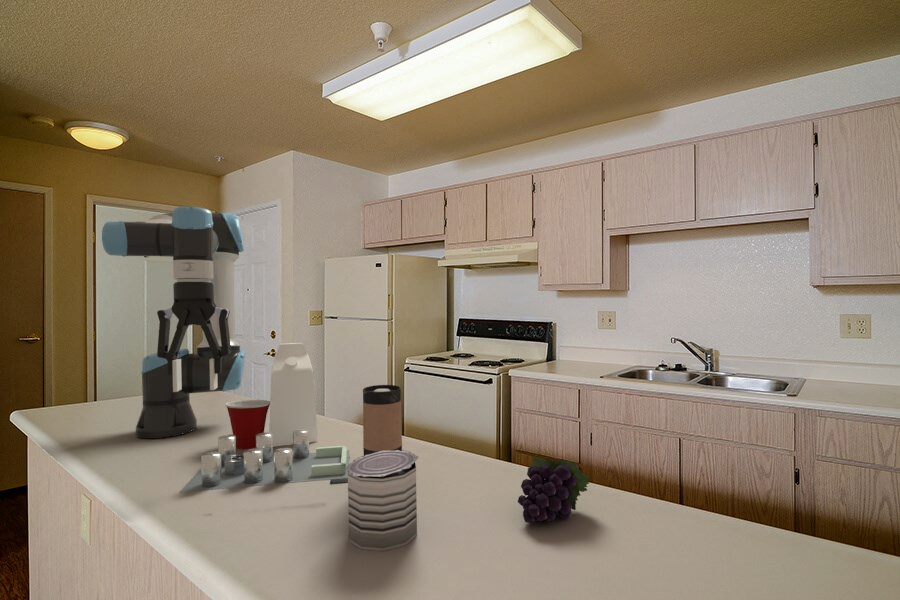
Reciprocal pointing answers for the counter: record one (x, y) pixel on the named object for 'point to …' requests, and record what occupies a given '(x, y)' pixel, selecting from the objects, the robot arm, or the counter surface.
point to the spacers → (255, 458)
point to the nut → (234, 465)
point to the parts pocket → (330, 468)
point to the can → (382, 500)
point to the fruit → (551, 489)
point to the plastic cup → (247, 421)
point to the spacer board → (299, 474)
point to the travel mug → (382, 419)
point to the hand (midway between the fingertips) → (195, 389)
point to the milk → (292, 394)
